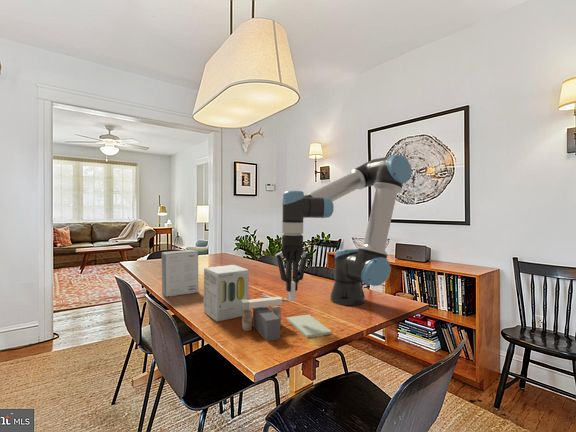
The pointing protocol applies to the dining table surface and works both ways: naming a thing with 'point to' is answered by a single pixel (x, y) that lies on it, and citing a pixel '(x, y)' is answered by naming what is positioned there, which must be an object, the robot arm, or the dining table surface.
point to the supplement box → (225, 291)
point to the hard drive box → (179, 272)
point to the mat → (308, 326)
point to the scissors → (270, 296)
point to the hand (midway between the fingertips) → (291, 300)
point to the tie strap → (260, 302)
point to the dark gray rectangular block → (266, 323)
